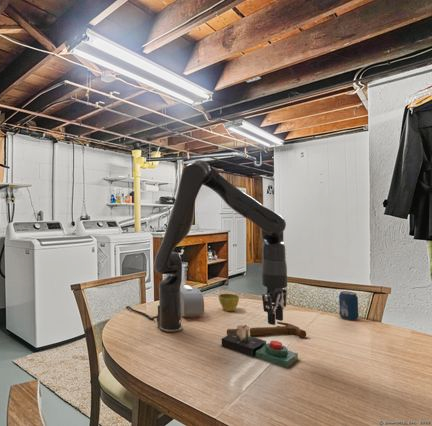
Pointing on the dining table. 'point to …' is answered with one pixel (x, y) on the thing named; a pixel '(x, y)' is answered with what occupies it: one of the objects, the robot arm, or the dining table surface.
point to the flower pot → (228, 301)
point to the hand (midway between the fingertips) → (275, 321)
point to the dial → (243, 333)
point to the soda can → (348, 305)
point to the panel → (243, 344)
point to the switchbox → (277, 355)
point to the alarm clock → (191, 301)
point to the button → (276, 345)
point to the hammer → (273, 330)
